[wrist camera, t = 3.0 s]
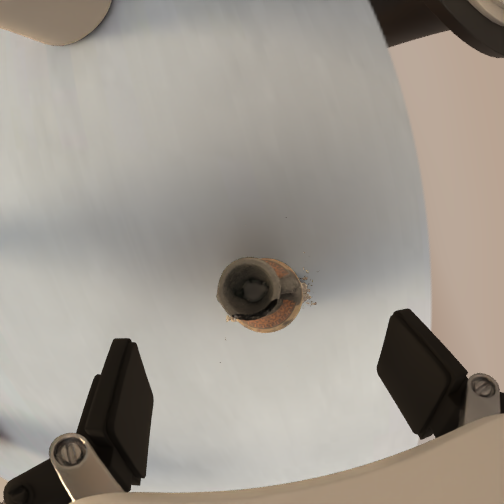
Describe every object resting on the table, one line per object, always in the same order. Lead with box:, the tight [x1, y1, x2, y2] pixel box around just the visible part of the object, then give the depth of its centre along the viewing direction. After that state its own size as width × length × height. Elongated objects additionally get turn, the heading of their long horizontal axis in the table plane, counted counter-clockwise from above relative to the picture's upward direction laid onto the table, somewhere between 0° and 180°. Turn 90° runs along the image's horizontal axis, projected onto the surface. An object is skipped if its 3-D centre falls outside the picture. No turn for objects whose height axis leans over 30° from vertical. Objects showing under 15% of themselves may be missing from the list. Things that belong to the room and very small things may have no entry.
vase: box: [216, 217, 318, 363], centre depth 14 cm, size 5×5×6 cm
